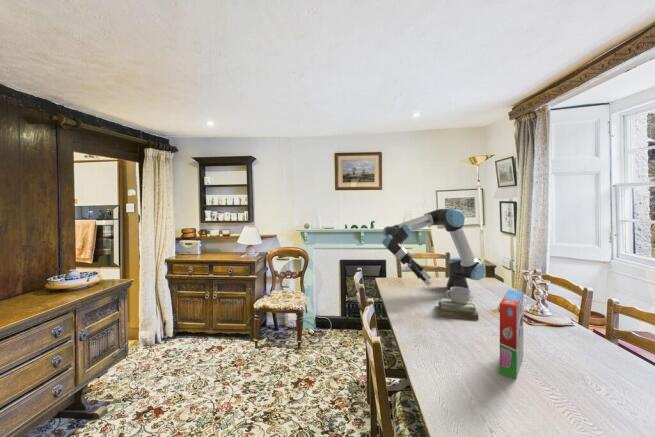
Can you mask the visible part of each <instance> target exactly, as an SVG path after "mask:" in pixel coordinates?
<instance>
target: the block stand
mask: <svg viewBox="0 0 655 437" xmlns="http://www.w3.org/2000/svg"><path fill="white" fill-rule="evenodd" d="M438 316H439V317H441V318H450V319H461V320H473V321H479V312H478V311H477V308H476V305H475V303H474V302H473V300H472V299H469V302H467V303H466V304H457V303H454V302H453V301H452V300H451V299H450V298H448V297H441V298H440V301H438Z"/></svg>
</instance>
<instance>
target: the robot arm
mask: <svg viewBox="0 0 655 437" xmlns="http://www.w3.org/2000/svg"><path fill="white" fill-rule="evenodd" d="M465 218H466V217H465V214H464V213H463V211H461V210H459V208H458V209H457V208H439V209H435V210H432V211H429V212H427V213H424V215H422V216H419V217H416V218H412V219H411V220H407V221H404V222H401V223H398V224H395V225H391V226H385V227H384V228H383V230H382V234H383V236H384V237H385V238H383V239H382V241H381V244H383V246H384V247H385V248H386V249H387V250H388V251H389V252H390V253H391V254H392V255H393V256H394V258H396V259H398V260H399V262H400V263H401V264H403V265H405V264H407V267H409V269H410V270H411V271H412V272H413V273H414V274H415V276H416V277H417V279H420V280H421V281H422V282H423V283H424V284H425V285H426V286H427V287H429V286H430V285H431V284H432V282H431V281H430V279H431V278H432V276H431V275H430V274H429V273H428V272H427V271H425V267H422V266H421V265H420V264H419V263H418V262H416V261H415V260H414V259H413V255H412V254H411V253H410V252H409V251H408V250H407V249H406V248H405V247H404V246H403V245H402V244H403V243H404V242H405V241H406V240H407V239H408V238H409V237H410V236H411V234H412V233H413V232H414V231H417V230H420V229H422V228H426V227H433V226H442V227H444V229H445V231H446V232H448V233H449V234H450V236H451V239H452V241H453V244H454V247H455V249H456V251H457V253H458V257H452V258H450V259H449V260H448V280H447V282H446V289H447V290H450V288H451V287H463V288H467V289H469V288H470V287H469V283H468V281H467V279H470V280H473V281H479V280H482V279H483V278H484V276H485V274H486V267H485V265H484V264H482V263H480V262H479V260H478V258H477V257H476V256H475V255H474V253H473V251H472V248H471V246H470V244H469V241H468V239H467V236H466V234H465V232H464V228H463V227H464V226H465ZM469 290H470V289H469Z"/></svg>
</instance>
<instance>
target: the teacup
mask: <svg viewBox="0 0 655 437" xmlns="http://www.w3.org/2000/svg"><path fill="white" fill-rule="evenodd" d="M449 295H450V296H449ZM470 296H471V290H470V289H467V288H463V287H451V288H450V290H449V289H447V290H446V291H445V297H446V298H450V299H451V300H452V301H453V302H454V303H457V304H466V303H467V302H469V300H471V299H470V298H471V297H470Z"/></svg>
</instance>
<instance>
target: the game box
mask: <svg viewBox="0 0 655 437" xmlns="http://www.w3.org/2000/svg"><path fill="white" fill-rule="evenodd" d="M523 358H524V291H521V290H513V289H508V290H507V291H506V293H505V294H504V296H503V298H502V299H501V301H500V303H499V374H500V375H502V376H505V377H508V378H511V379H514V380H517V378H518V374H519V371H520V367H521V364H522V361H523Z"/></svg>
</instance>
